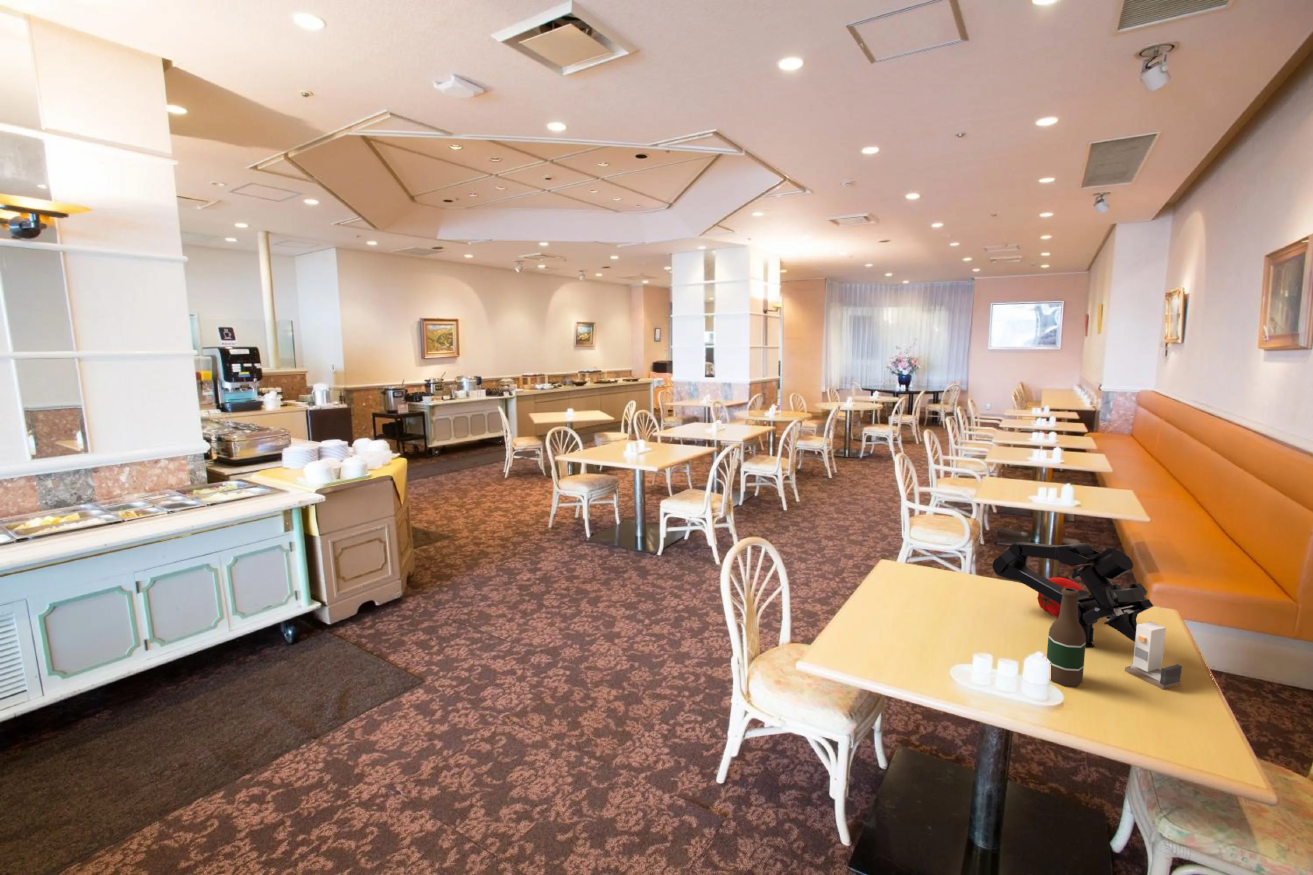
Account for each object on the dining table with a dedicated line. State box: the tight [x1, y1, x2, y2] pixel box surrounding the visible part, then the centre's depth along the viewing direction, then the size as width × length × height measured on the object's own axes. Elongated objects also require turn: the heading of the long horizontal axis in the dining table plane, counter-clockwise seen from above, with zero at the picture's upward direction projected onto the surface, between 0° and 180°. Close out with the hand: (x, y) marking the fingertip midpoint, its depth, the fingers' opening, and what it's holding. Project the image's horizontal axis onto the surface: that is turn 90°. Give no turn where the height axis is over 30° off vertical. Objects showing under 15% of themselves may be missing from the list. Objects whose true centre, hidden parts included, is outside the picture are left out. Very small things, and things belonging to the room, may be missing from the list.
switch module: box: [1132, 621, 1167, 672], centre depth 153 cm, size 4×6×11 cm, turn 107°
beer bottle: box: [1046, 588, 1086, 688], centre depth 152 cm, size 8×8×24 cm
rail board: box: [1124, 662, 1182, 690], centre depth 153 cm, size 9×6×5 cm, turn 17°
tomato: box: [1037, 576, 1086, 618], centre depth 189 cm, size 13×13×13 cm
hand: (1139, 642), depth 155 cm, fingers closed
